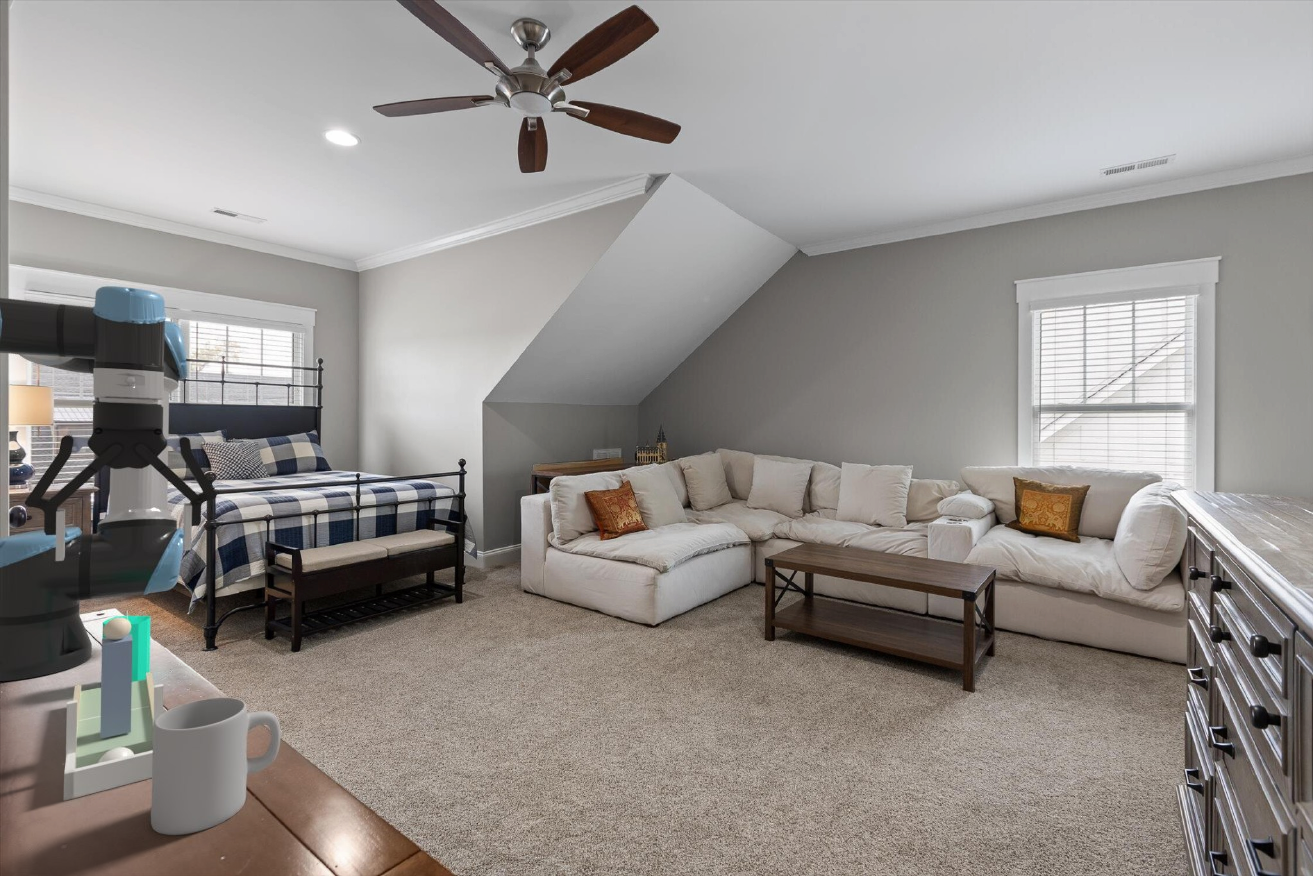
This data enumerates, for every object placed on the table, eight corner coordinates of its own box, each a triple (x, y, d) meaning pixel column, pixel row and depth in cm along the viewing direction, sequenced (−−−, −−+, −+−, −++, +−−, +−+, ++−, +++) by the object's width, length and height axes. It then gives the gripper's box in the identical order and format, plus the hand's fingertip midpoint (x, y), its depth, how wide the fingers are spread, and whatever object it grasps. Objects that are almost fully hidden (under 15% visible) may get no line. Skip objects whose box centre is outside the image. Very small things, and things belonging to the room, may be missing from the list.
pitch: (74, 705, 96) (75, 685, 96) (151, 690, 101) (151, 672, 101) (66, 776, 77) (66, 751, 77) (161, 753, 83) (161, 730, 82)
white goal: (66, 776, 77) (67, 701, 77) (161, 753, 83) (163, 683, 82) (63, 801, 72) (64, 721, 72) (165, 774, 78) (166, 700, 78)
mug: (156, 847, 64) (158, 739, 64) (145, 810, 70) (147, 711, 70) (289, 801, 73) (291, 705, 73) (269, 771, 79) (271, 683, 79)
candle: (92, 687, 102) (94, 612, 102) (135, 674, 108) (136, 603, 108) (115, 693, 100) (117, 617, 100) (157, 680, 106) (159, 608, 106)
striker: (100, 730, 84) (102, 617, 83) (130, 723, 85) (132, 613, 85) (100, 738, 81) (102, 622, 81) (130, 732, 83) (132, 618, 83)
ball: (96, 790, 75) (97, 763, 77) (134, 780, 77) (134, 754, 80) (96, 773, 74) (97, 746, 76) (135, 763, 76) (135, 737, 78)
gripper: (-4, 396, 78) (-6, 570, 78) (239, 405, 94) (236, 549, 94) (4, 396, 83) (3, 558, 84) (232, 405, 99) (229, 540, 100)
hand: (126, 553), depth 89 cm, fingers open, 13 cm apart
